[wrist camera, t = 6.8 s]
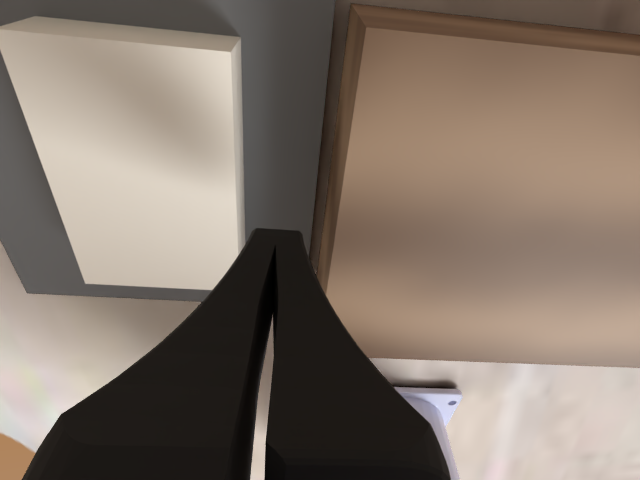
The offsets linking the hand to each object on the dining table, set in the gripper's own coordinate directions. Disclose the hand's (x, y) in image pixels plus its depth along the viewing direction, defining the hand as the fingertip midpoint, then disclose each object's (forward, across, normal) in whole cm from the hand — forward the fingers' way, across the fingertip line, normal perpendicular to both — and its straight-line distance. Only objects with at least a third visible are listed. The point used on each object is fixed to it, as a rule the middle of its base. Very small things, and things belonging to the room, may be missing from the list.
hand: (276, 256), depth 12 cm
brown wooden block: (+5, -12, 0) cm, 13 cm away
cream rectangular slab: (+4, +4, 0) cm, 6 cm away
